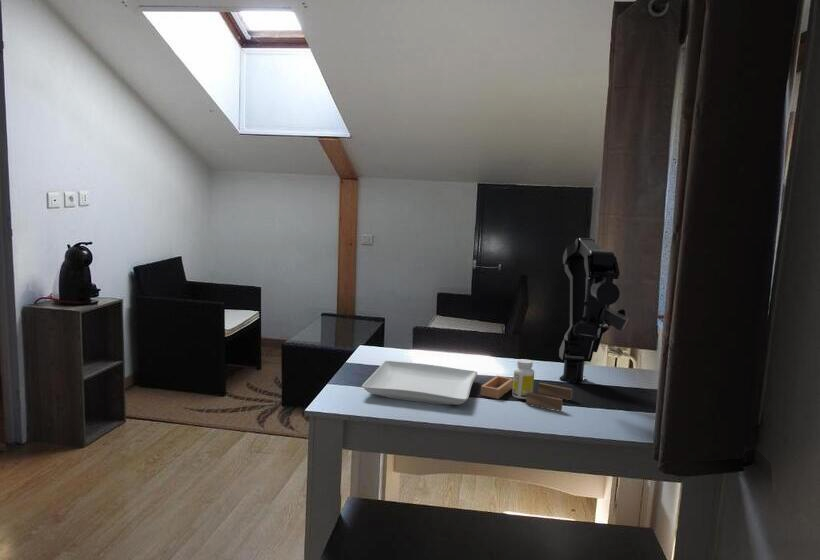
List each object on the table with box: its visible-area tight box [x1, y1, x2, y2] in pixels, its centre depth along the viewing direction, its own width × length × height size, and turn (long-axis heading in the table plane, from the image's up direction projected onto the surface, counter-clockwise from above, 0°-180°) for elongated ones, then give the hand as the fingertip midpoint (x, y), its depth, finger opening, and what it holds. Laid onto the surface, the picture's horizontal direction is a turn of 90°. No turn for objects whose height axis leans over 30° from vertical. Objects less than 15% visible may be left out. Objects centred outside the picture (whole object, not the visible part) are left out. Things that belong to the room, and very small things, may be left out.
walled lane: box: [525, 382, 574, 412], centre depth 169 cm, size 11×9×3 cm
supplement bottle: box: [511, 358, 535, 400], centre depth 172 cm, size 5×5×10 cm
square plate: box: [361, 360, 478, 406], centre depth 174 cm, size 27×27×4 cm
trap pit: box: [480, 375, 513, 400], centre depth 176 cm, size 12×5×2 cm, turn 152°
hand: (590, 355), depth 173 cm, fingers open, 9 cm apart
